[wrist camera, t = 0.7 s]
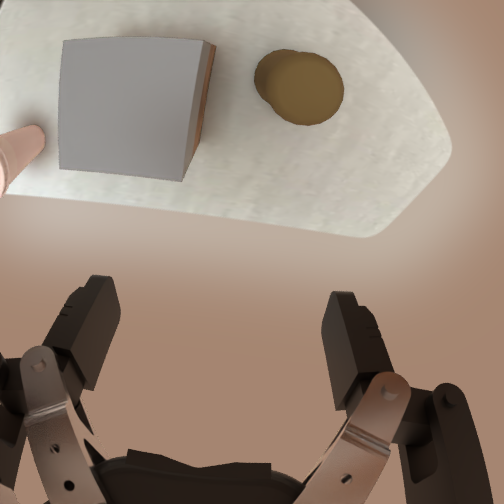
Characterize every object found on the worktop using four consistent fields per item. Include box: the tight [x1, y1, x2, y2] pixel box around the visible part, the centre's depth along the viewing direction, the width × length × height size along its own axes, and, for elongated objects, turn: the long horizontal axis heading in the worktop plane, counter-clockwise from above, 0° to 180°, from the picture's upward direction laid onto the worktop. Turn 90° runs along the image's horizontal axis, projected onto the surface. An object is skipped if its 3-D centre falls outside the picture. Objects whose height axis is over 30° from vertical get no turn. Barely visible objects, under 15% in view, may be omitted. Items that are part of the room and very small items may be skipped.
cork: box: [254, 49, 344, 126], centre depth 21 cm, size 6×6×11 cm
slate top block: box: [58, 37, 211, 182], centre depth 20 cm, size 10×10×5 cm
